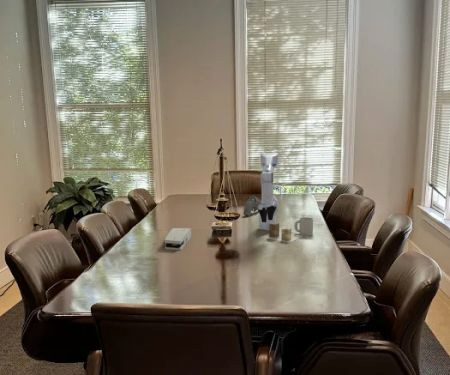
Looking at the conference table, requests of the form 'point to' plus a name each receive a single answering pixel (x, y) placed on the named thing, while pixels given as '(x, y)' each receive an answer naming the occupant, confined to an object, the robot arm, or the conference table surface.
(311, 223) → the cup
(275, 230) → the walnut block
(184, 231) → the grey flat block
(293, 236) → the mat
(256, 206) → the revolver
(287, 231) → the oak block
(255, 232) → the conference table surface
